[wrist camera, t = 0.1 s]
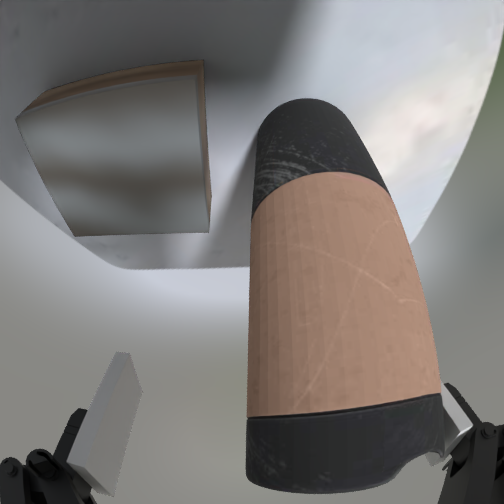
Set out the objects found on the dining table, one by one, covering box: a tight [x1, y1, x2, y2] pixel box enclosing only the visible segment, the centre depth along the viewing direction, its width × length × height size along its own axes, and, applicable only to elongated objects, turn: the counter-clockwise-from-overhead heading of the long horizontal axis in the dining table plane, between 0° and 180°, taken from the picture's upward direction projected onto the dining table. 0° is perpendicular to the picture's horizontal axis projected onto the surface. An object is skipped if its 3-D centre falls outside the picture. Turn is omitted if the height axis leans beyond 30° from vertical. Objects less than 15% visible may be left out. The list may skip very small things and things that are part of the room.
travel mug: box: [246, 99, 445, 494], centre depth 13 cm, size 8×8×20 cm
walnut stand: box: [15, 60, 212, 237], centre depth 17 cm, size 12×12×4 cm
